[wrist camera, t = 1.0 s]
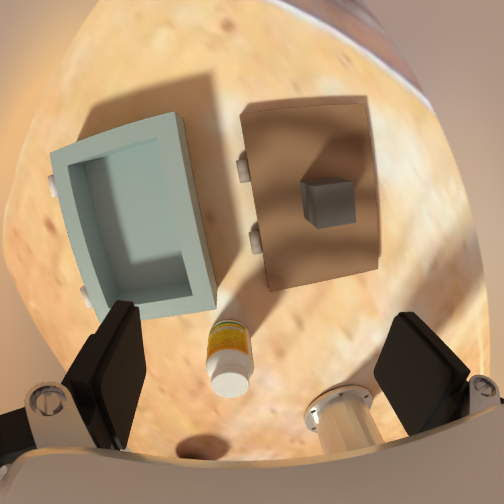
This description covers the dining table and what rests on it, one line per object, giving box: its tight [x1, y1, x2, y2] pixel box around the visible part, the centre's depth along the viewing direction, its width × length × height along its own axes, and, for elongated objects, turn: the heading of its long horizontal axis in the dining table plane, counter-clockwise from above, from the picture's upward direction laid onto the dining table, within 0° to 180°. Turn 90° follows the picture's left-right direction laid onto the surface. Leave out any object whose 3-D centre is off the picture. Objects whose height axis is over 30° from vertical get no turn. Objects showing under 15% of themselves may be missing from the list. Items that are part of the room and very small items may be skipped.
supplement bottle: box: [206, 320, 254, 398], centre depth 32 cm, size 5×5×10 cm
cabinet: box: [48, 111, 218, 324], centre depth 29 cm, size 20×15×5 cm
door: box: [236, 104, 378, 292], centre depth 29 cm, size 20×15×6 cm
